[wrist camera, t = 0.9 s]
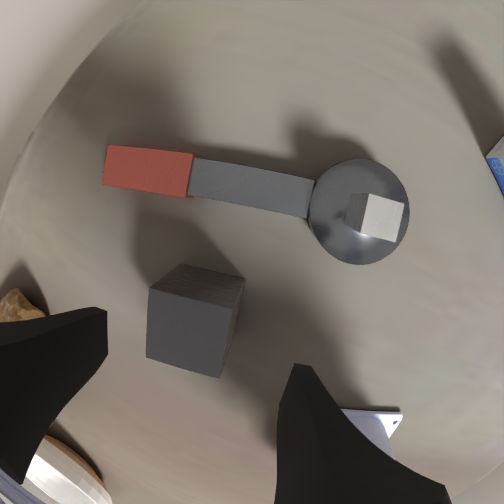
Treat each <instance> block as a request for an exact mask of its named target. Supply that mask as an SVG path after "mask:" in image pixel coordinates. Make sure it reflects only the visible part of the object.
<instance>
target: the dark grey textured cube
mask: <svg viewBox="0 0 504 504" xmlns="http://www.w3.org/2000/svg"><path fill="white" fill-rule="evenodd" d="M244 281H245V279H244V278H240V277H235V276H231V275H226V274H222V273H217V272H213V271H209V270H204V269H200V268H196V267H192V266H187V265H183V264H180V265H178V266H177V267H176V268H175V269H173V270H172V271H171V272H169V273H168V274H167V275H165V276H164V277H163V278H161V279H160V280H159V281H157V282H156V283H155V284H154V285H152V286H151V287H150V288H149V297H148V313H147V334H146V357H147V358H150V359H153V360H156V361H159V362H162V363H166V364H169V365H172V366H176V367H179V368H182V369H186V370H189V371H193V372H196V373H200V374H204V375H208V376H212V377H216V378H220V375H221V372H222V369H223V366H224V363H225V360H226V357H227V354H228V351H229V348H230V345H231V342H232V339H233V336H234V331H235V326H236V321H237V316H238V311H239V306H240V301H241V296H242V291H243V286H244Z"/></svg>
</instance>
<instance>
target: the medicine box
mask: <svg viewBox="0 0 504 504" xmlns="http://www.w3.org/2000/svg"><path fill="white" fill-rule="evenodd" d="M486 160H487V162H488V164H489V166H490V168H491V170H492V172H493V173H494V175H495V177H496V179H497V182H498V184H499V186H500V188H501V190H502V192H503V194H504V136H503V137H502V138H501V139H500V141H499V142H498V143H497V144H496V145H495V146H494V148H493V149H492V150H491V151H490V152H489V153H488V154H487V156H486Z"/></svg>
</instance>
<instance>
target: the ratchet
mask: <svg viewBox="0 0 504 504" xmlns="http://www.w3.org/2000/svg"><path fill="white" fill-rule="evenodd" d="M102 185H109V186H115V187H122V188H128V189H135V190H141V191H147V192H153V193H159V194H165V195H171V196H176V197H182V198H190V197H194V196H198V197H203V198H208V199H214V200H219V201H224V202H230V203H235V204H240V205H245V206H250V207H255V208H260V209H264V210H269V211H274V212H279V213H283V214H288V215H293V216H297V217H302V218H307V216H308V221H309V225H310V227H311V230H312V232H313V234H314V236H315V237H316V238H317V240H318V241H319V243H320V244H321V245H322V247H323V248H324V249H325V250H326V251H327V252H328V253H329V254H331V255H332V256H333V257H335V258H337V259H338V260H341V261H343V262H346V263H349V264H355V265H364V264H370V263H374V262H377V261H379V260H382V259H383V258H385V257H387V256H388V255H389V254H391V253H392V252H393V251H394V250H395V249H396V248H397V246H398V245H399V244H400V242H401V241H402V239H403V237H404V235H405V233H406V230H407V227H408V223H409V213H410V211H409V202H408V197H407V194H406V191H405V189H404V187H403V185H402V183H401V182H400V180H399V179H398V178H397V176H396V175H395V174H394V173H393V172H392V171H391V170H389V169H388V168H387V167H385V166H384V165H382V164H380V163H378V162H375V161H372V160H368V159H351V160H346V161H344V162H341V163H339V164H337V165H334V166H332V167H331V168H329V169H327V170H326V171H325V172H323V173H322V174H321V175H320V176H319V177H318V179H317V180H316V181H315V183H314V180H311V179H307V178H302V177H298V176H293V175H288V174H284V173H279V172H274V171H269V170H264V169H259V168H254V167H248V166H243V165H237V164H231V163H225V162H219V161H213V160H206V159H201V157H200V156H197V155H195V154H190V153H183V152H175V151H167V150H158V149H148V148H138V147H127V146H114V145H108V149H107V155H106V160H105V166H104V173H103V179H102Z"/></svg>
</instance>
